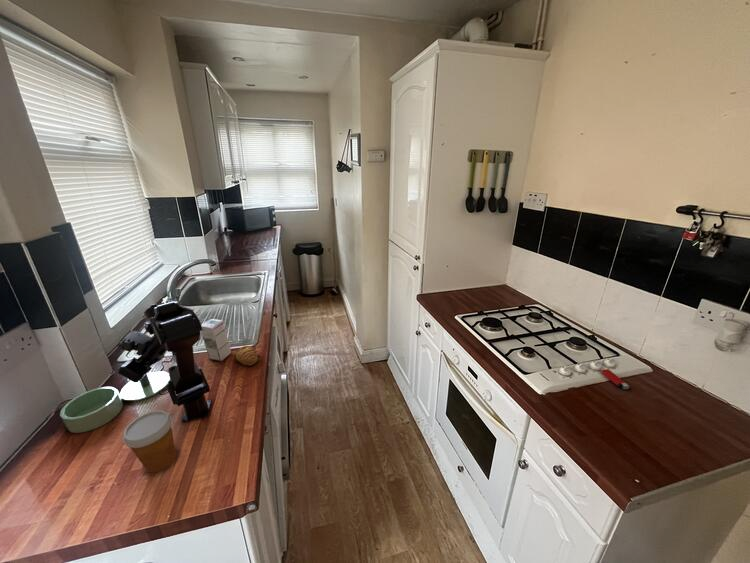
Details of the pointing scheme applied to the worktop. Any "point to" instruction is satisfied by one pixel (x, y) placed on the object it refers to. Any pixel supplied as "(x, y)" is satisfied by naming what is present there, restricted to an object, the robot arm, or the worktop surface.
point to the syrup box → (215, 339)
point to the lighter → (615, 379)
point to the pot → (91, 409)
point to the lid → (145, 386)
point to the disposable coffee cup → (152, 440)
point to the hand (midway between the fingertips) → (136, 372)
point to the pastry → (247, 355)
